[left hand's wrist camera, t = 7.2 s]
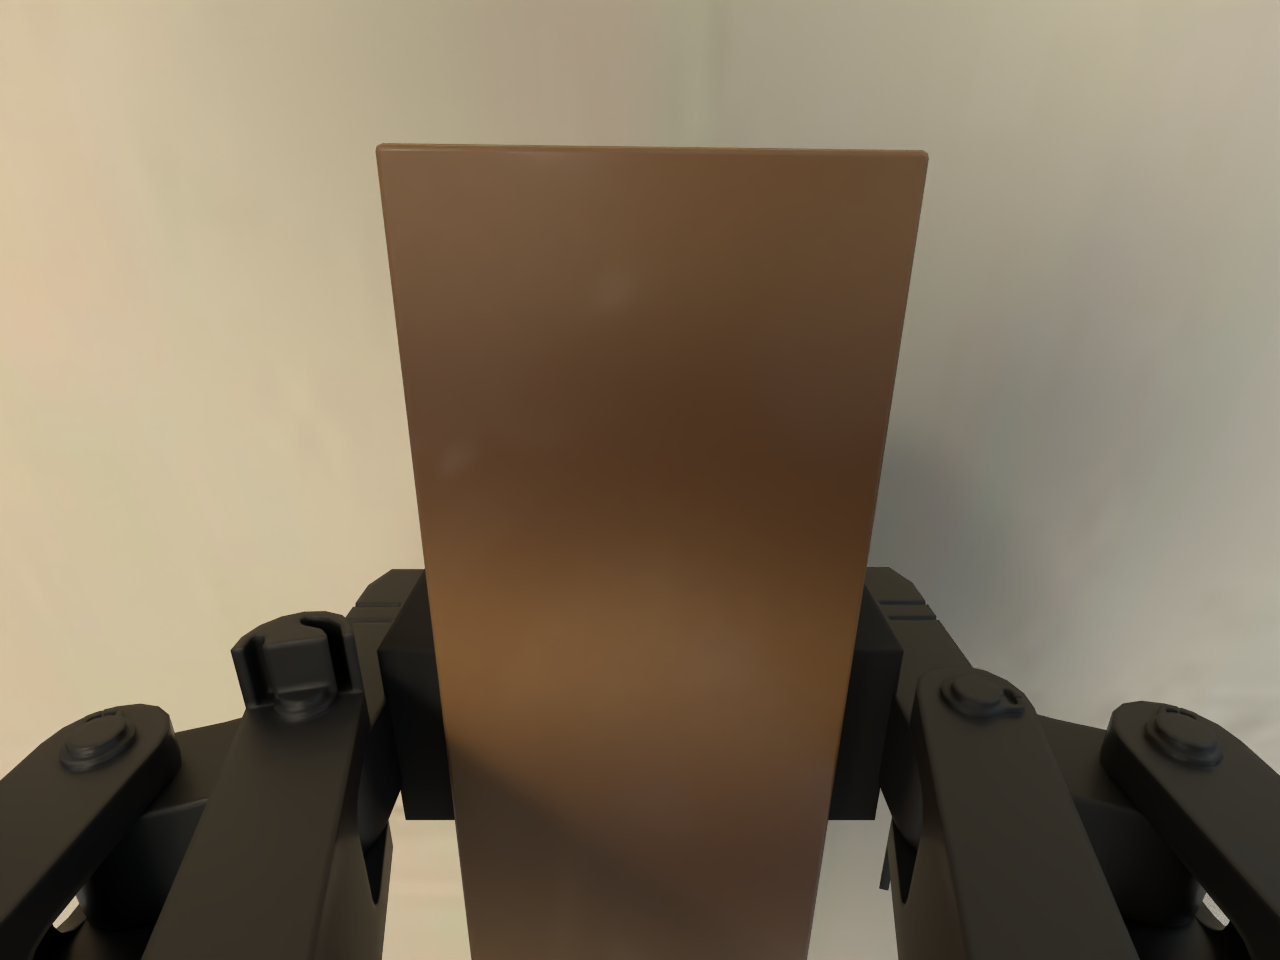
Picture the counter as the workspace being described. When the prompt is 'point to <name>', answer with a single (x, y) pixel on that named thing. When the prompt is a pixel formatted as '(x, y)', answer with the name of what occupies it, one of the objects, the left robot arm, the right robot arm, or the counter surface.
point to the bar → (646, 519)
